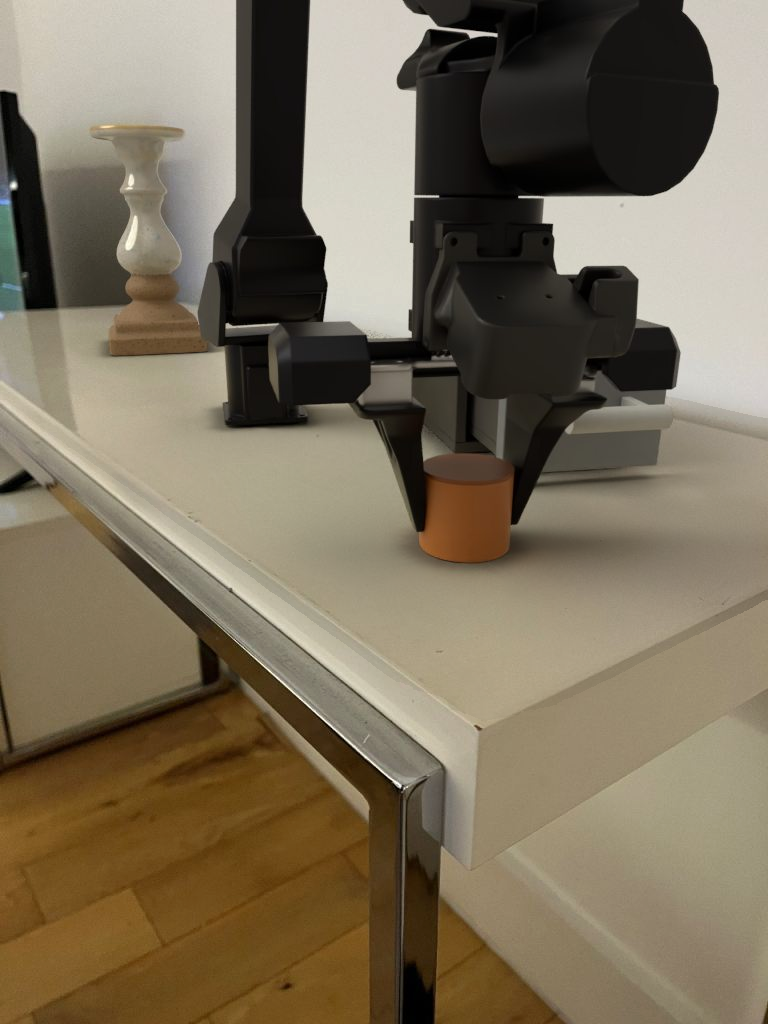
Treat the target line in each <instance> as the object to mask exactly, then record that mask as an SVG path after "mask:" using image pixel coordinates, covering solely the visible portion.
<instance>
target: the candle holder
mask: <svg viewBox="0 0 768 1024" xmlns="http://www.w3.org/2000/svg"><path fill="white" fill-rule="evenodd" d="M89 134H90V136H91V138H92V139H93V138H94V139H97V140H103V141H110V142H111V143H112V145H113V148H114V151H115V153H116V155H117V156H118V157H119V158H120V160H121V162H122V164H123V165H124V169H125V176H124V180H123V183H122V184H121V186H120V188H119V193H120V194H121V195H123V197H124V201H125V202H126V203H127V206H128V208H129V212H130V213H129V214H130V215H129V219H128V221H127V225H126V227H125V229H124V231H123V233H122V235H121V237H120V239H119V241H118V244H117V247H116V259H117V262H118V264H119V265H120V267H122V269H123V270H125V271H126V272H128V273H130V277H129V279H127V281H126V283H125V293H126V294H127V295H128V296H129V297H130V298H131V299H132V301H131V302H130V303H128V304H127V305H126V306H125V307H124V308H123V309H121V311H120V312H119V313H118V314H115V315H114V316H113V324H112V325H110V326H109V328H108V344H109V345H108V346H109V354H110V356H140V355H141V356H143V355H162V354H163V355H164V354H183V353H186V354H187V353H200V352H201V353H202V352H203V353H204V352H208V349H209V348H208V342H207V341H205V340H203V339H202V338H201V333H200V327H199V321H198V318H197V317H196V315H195V314H194V313H193V312H190V311H189V309H188V308H186V307H185V306H184V305H183V304H181V303H179V302H178V301H176V300H175V297H176V296H177V295H178V294H179V292H180V284H179V283H178V281H177V280H176V279H175V278H174V277H173V275H172V273H173V272H174V271H176V270H177V269H178V267H179V266H180V264H181V263H182V258H183V257H182V255H183V253H182V249H181V246H180V245H179V243H178V241H177V240H176V238H175V236H174V235H173V233H172V232H171V230H170V229H169V227H168V226H167V224H166V223H165V221H164V217H163V216H162V213H161V208H162V204H163V202H164V197H165V195H167V194H168V189H167V187H165V185H164V184H163V183H162V180H161V178H160V176H159V163H160V160H161V159H162V157H163V156H164V153H165V148H166V144H167V143H170V142H171V143H172V142H180V141H183V140H185V138H186V130H185V129H183V128H180V127H175V126H166V125H153V124H152V125H150V124H149V125H148V124H101V125H93V126H90V127H89Z"/></svg>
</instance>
